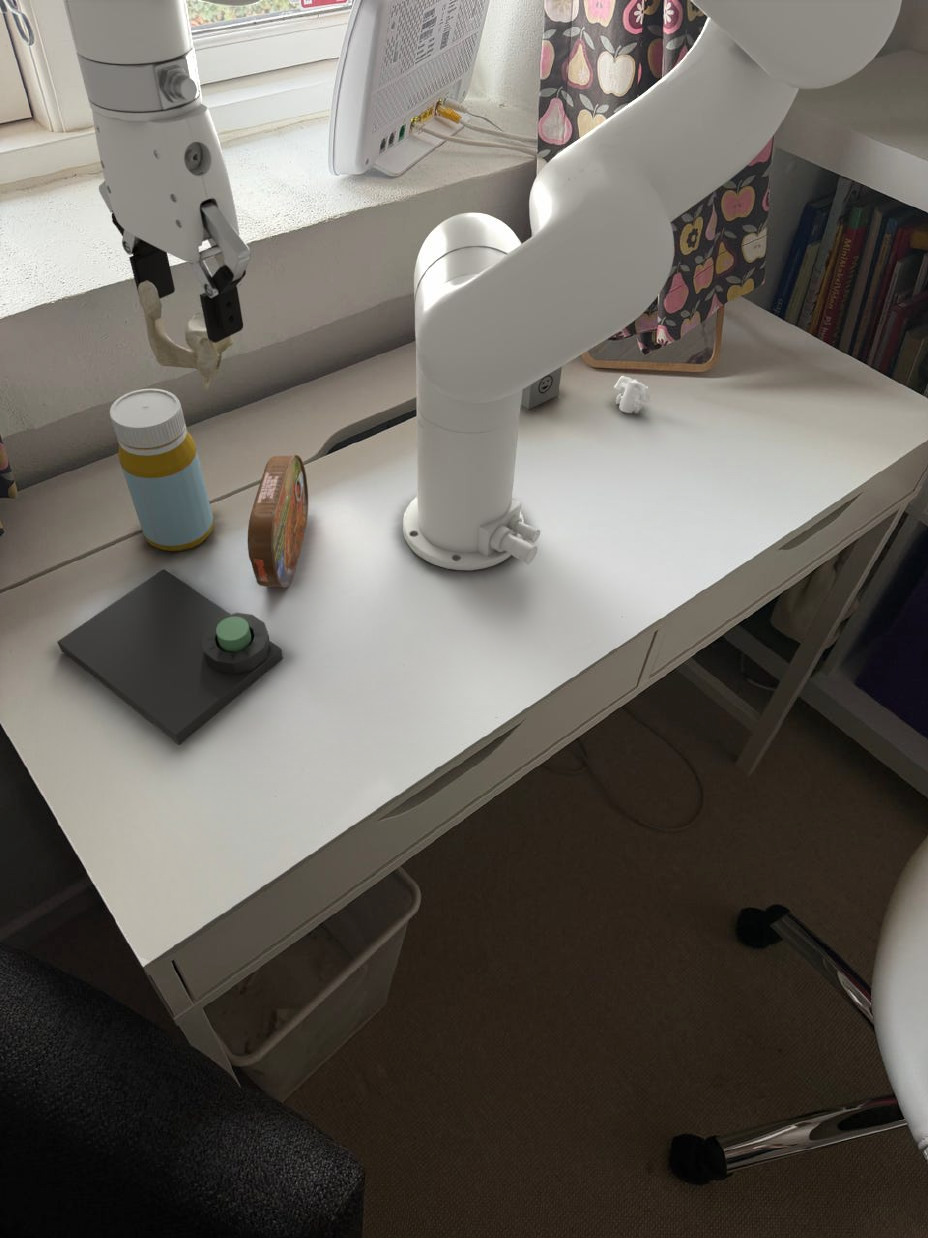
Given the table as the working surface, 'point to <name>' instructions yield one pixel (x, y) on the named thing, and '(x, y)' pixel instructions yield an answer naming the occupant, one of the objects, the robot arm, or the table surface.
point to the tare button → (233, 634)
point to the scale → (169, 654)
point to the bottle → (162, 469)
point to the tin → (278, 521)
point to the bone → (203, 349)
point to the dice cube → (541, 389)
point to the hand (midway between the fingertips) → (191, 314)
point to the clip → (631, 394)
